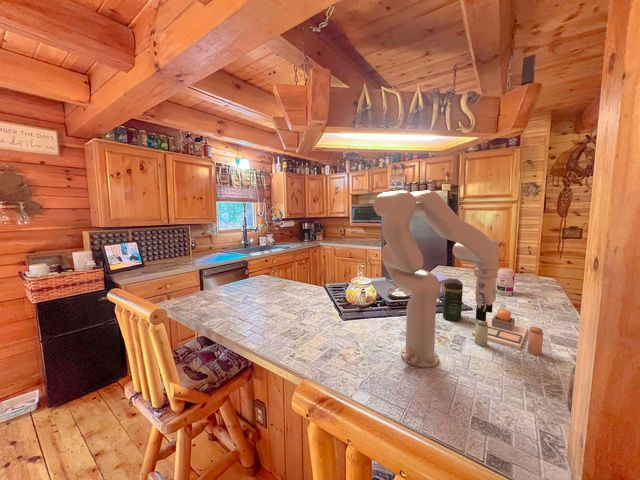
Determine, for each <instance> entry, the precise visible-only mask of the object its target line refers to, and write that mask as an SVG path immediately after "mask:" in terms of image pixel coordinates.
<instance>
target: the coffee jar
mask: <svg viewBox="0 0 640 480" xmlns="http://www.w3.org/2000/svg"><path fill="white" fill-rule="evenodd" d="M443 283H444V284H443V301H442V317H443V318H444V320H445V319H446V320H449V321H453V322H455V321H456V322H458V321H461V319H462V307H463V306H462V305H463V288H464V287H463V285H464V284H463V282H462V281H460V280H459V279H458V278H452V277H451V278H450V277H449V278H447V279H445V280H444V282H443Z"/></svg>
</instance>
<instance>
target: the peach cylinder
mask: <svg viewBox="0 0 640 480" xmlns="http://www.w3.org/2000/svg"><path fill="white" fill-rule="evenodd" d="M543 340H544V332H543V329H542V328H540V327H538V326H530V327H529V329H528V339H527V352H528V353H529V354H531V355H534V356H542V353H543V342H544V341H543Z"/></svg>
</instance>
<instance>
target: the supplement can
mask: <svg viewBox="0 0 640 480" xmlns="http://www.w3.org/2000/svg"><path fill="white" fill-rule="evenodd" d="M515 273H516V272H515V271H514V269H512V268H504V267H501V268H498V278H496V294H497V295H500V296H503V297H512V296H514V290H515V288H514V287H515V277H516V274H515Z"/></svg>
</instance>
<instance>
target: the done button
mask: <svg viewBox="0 0 640 480" xmlns="http://www.w3.org/2000/svg"><path fill="white" fill-rule="evenodd" d="M496 310H497V311H496V314H497V320H501V321H505V322H510V318H512V316H511V315H512V312H511V311H510V310H507V309H504V308H503V309H501V308H499V309H496Z"/></svg>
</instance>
